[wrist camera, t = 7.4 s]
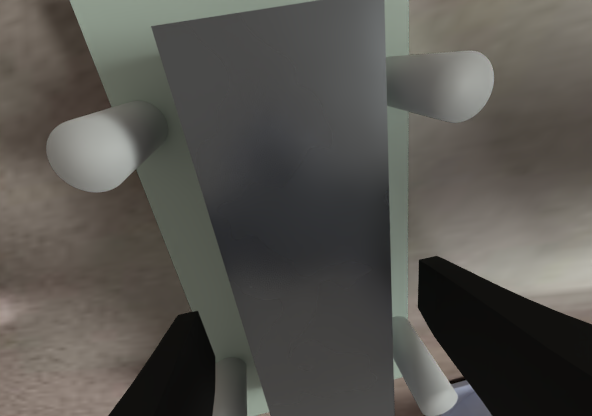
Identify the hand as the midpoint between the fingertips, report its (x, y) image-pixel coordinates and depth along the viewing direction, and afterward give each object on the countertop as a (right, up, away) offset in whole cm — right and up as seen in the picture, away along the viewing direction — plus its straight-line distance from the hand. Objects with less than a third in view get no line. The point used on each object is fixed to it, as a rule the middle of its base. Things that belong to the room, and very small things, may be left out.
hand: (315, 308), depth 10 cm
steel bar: (-1, +2, +3) cm, 4 cm away
